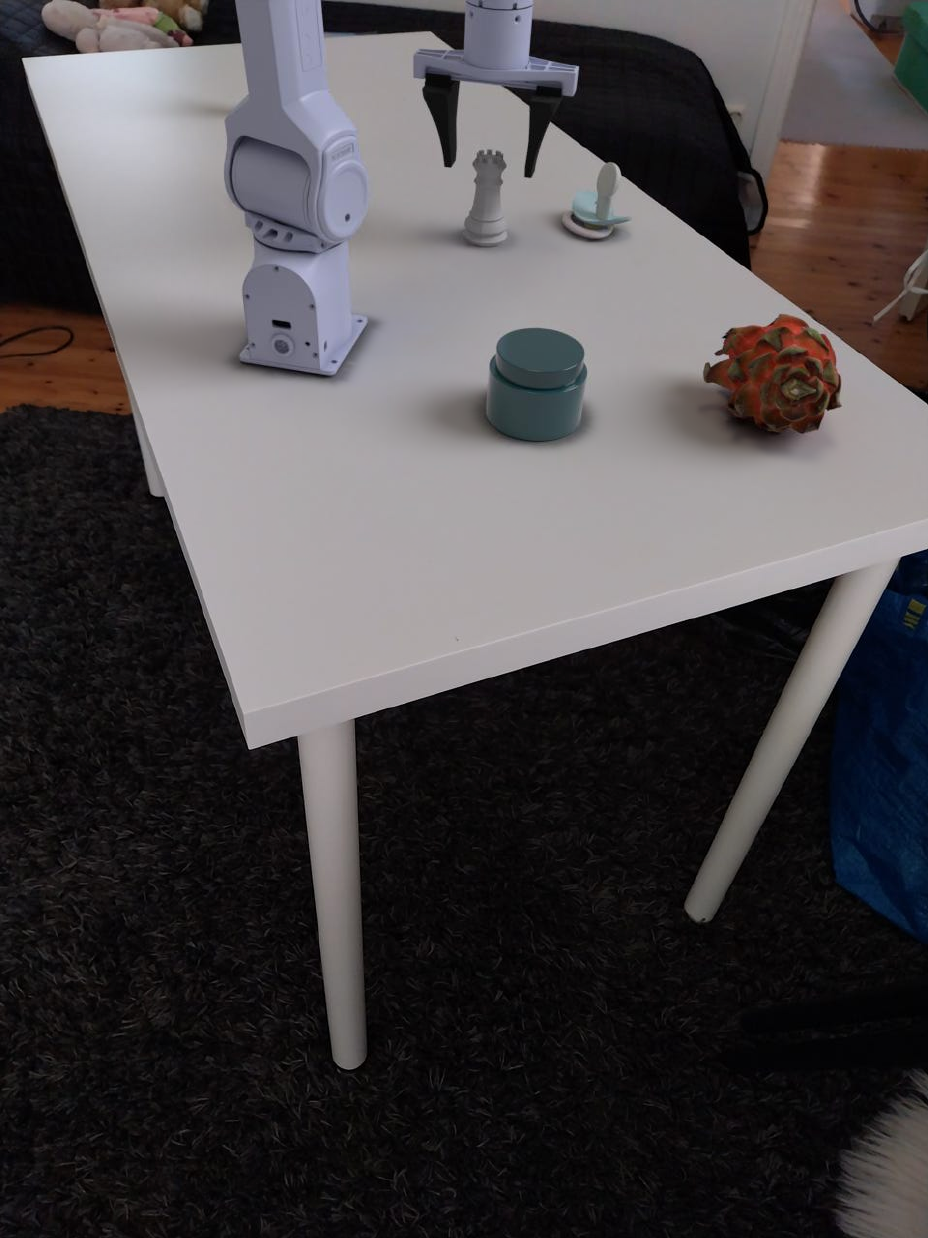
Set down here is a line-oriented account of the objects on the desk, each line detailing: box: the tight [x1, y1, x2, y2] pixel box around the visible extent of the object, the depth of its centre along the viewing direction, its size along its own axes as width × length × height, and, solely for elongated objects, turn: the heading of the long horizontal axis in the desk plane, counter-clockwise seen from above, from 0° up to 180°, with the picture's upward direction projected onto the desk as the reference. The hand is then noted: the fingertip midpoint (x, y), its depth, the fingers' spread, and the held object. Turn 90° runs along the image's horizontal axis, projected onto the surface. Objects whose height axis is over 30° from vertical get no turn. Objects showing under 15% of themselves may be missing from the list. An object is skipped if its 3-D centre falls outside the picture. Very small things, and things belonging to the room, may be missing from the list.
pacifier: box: [561, 161, 633, 239], centre depth 96 cm, size 7×6×6 cm
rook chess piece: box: [462, 148, 509, 248], centre depth 93 cm, size 4×4×8 cm
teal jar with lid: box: [485, 327, 588, 442], centre depth 71 cm, size 7×7×6 cm
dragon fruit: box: [702, 313, 843, 435], centre depth 72 cm, size 8×8×12 cm
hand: (489, 168), depth 91 cm, fingers open, 7 cm apart
